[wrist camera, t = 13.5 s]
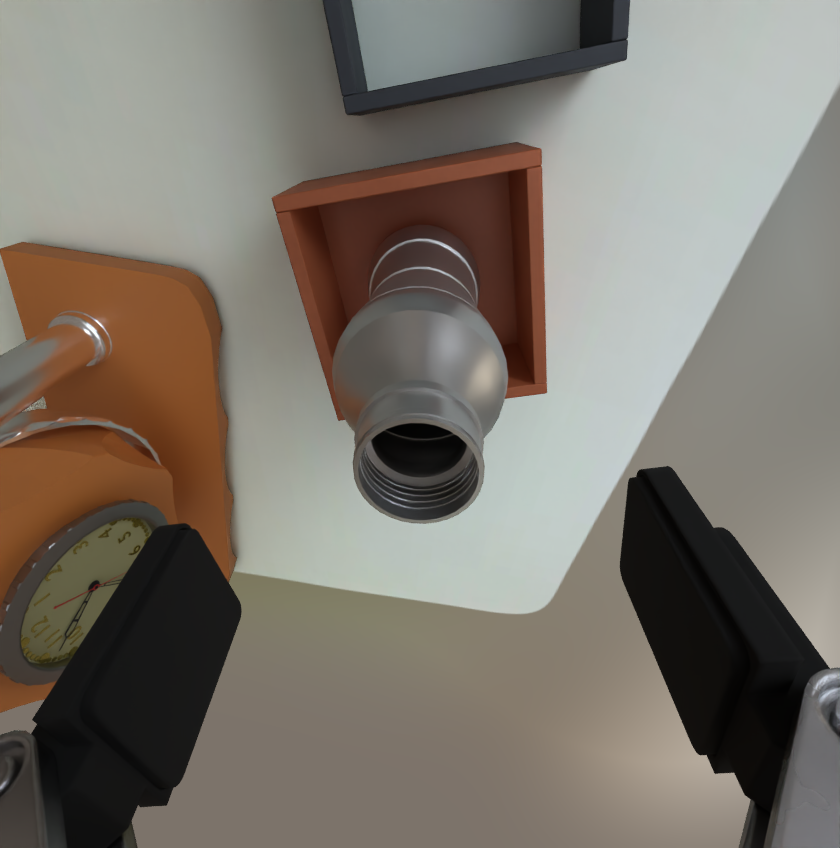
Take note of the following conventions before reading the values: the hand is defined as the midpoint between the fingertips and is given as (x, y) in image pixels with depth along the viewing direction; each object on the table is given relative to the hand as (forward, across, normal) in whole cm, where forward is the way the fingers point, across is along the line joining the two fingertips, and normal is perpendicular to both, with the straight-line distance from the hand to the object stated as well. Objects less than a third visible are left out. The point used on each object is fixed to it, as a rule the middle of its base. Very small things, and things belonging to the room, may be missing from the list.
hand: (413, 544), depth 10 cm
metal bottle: (+23, 0, +1) cm, 23 cm away
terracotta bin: (+23, 0, +1) cm, 23 cm away
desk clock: (+23, +23, +11) cm, 35 cm away
